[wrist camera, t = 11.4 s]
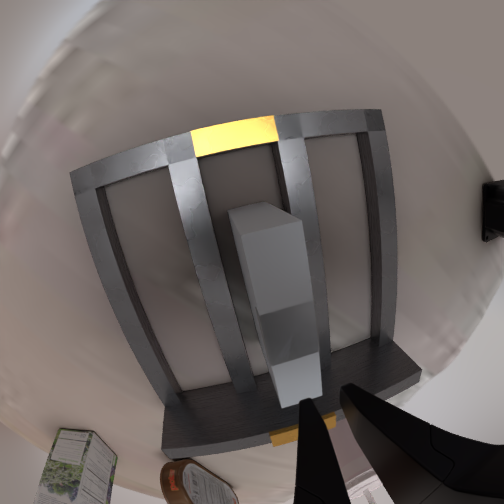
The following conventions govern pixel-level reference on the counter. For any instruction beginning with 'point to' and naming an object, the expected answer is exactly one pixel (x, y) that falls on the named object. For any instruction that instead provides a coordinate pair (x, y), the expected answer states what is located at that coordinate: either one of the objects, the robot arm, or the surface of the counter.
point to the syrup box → (77, 470)
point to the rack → (216, 287)
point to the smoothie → (353, 463)
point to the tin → (193, 485)
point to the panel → (280, 297)
